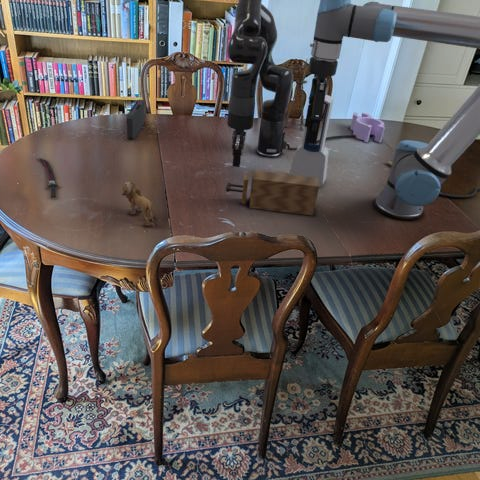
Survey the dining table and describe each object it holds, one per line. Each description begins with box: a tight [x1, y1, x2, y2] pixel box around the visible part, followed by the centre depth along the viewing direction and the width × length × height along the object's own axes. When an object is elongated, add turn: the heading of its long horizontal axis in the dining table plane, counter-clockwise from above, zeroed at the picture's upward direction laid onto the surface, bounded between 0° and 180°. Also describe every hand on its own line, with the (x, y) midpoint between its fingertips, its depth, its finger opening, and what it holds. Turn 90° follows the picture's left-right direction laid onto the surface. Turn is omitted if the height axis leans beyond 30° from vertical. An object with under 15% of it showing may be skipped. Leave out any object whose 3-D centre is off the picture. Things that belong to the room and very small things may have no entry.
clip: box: [349, 112, 386, 143], centre depth 214 cm, size 20×12×7 cm, turn 11°
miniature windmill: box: [284, 58, 308, 130], centre depth 209 cm, size 9×8×30 cm
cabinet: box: [249, 169, 320, 216], centre depth 146 cm, size 20×6×10 cm, turn 85°
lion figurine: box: [119, 181, 159, 227], centre depth 134 cm, size 15×5×9 cm, turn 50°
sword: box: [40, 158, 59, 198], centre depth 151 cm, size 31×3×1 cm, turn 26°
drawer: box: [225, 172, 253, 205], centre depth 147 cm, size 24×5×8 cm, turn 85°
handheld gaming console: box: [126, 98, 146, 140], centre depth 191 cm, size 23×3×10 cm, turn 178°
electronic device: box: [288, 94, 335, 188], centre depth 159 cm, size 12×8×30 cm, turn 71°
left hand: (236, 166), depth 143 cm, fingers closed
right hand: (310, 134), depth 136 cm, fingers open, 13 cm apart
